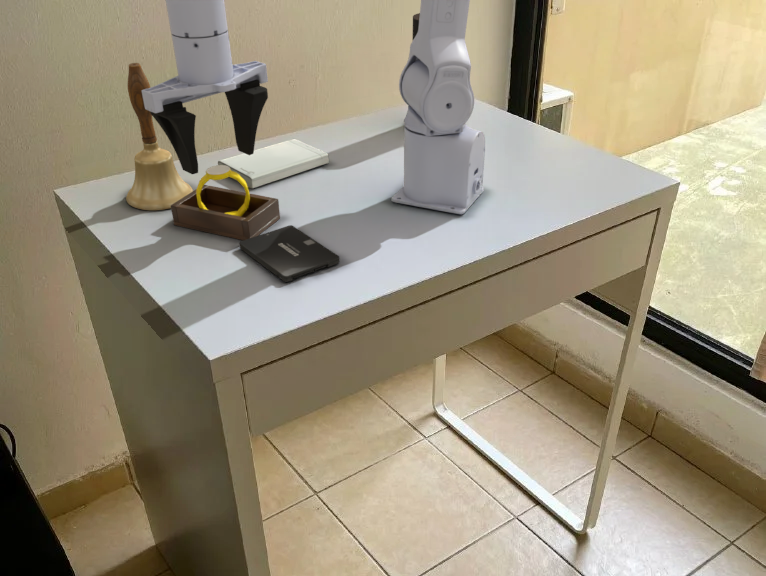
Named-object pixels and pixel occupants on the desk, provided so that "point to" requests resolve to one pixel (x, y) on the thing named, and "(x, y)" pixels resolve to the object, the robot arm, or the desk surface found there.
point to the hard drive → (275, 162)
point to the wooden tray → (220, 202)
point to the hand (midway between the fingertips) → (218, 161)
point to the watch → (218, 174)
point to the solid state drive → (289, 253)
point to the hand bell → (151, 157)
